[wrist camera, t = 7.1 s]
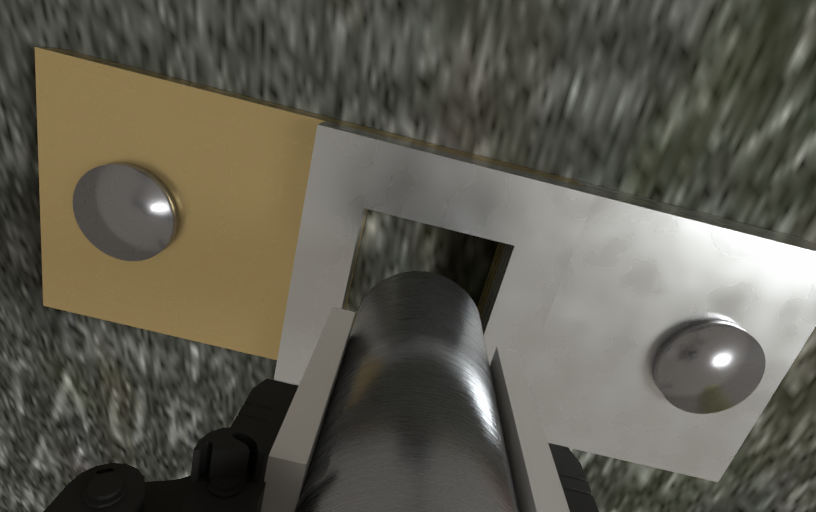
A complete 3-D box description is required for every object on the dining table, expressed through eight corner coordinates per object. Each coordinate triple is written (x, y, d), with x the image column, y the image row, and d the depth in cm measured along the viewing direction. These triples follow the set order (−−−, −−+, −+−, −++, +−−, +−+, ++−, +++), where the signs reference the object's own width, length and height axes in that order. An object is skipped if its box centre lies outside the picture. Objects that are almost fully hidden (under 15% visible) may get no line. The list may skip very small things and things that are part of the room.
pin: (361, 244, 17) (232, 554, 6) (511, 281, 18) (653, 645, 6) (332, 373, 19) (194, 786, 8) (467, 404, 19) (517, 850, 8)
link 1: (61, 48, 21) (22, 45, 19) (574, 179, 22) (588, 190, 20) (64, 292, 25) (33, 311, 23) (494, 393, 26) (499, 419, 24)
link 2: (332, 117, 21) (313, 126, 18) (802, 238, 22) (868, 267, 19) (291, 345, 26) (270, 387, 22) (687, 438, 26) (725, 492, 23)
